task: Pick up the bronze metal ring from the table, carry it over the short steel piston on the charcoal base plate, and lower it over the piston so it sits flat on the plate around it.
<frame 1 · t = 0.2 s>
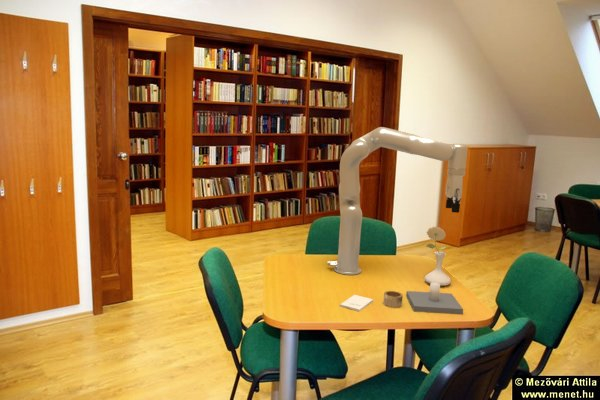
hand: (452, 210, 219), 31 cm above the table, tool pointing down, fingers open, 9 cm apart
piston stand: (433, 304, 189), on the table
bronze ring: (392, 304, 188), on the table
external hard drive: (356, 306, 186), on the table
flower in vase: (435, 283, 215), on the table
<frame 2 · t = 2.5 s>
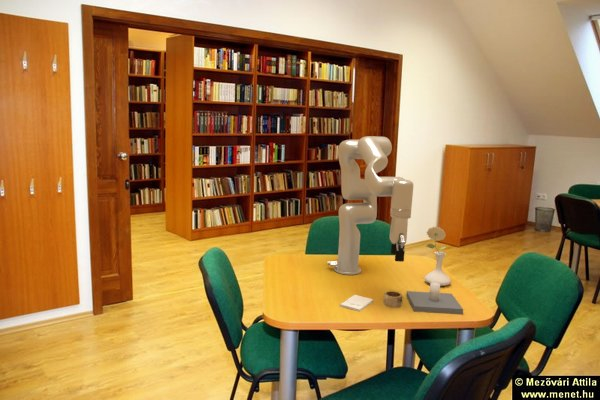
hand: (397, 257, 185), 19 cm above the table, tool pointing down, fingers open, 9 cm apart
nothing on the table moved.
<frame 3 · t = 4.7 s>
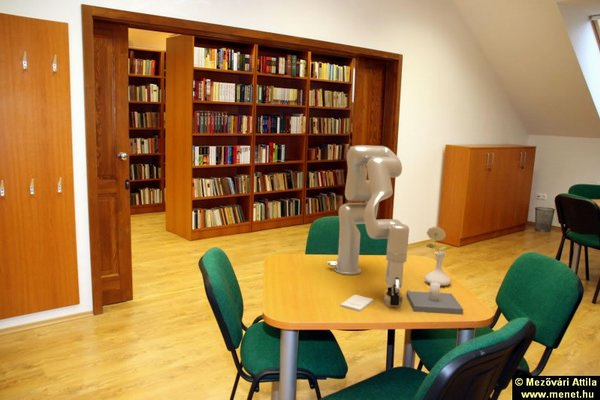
hand: (392, 300, 187), 1 cm above the table, tool pointing down, fingers closed on bronze ring, 6 cm apart
bronze ring: (392, 304, 188), on the table, touching gripper
everything else where it was.
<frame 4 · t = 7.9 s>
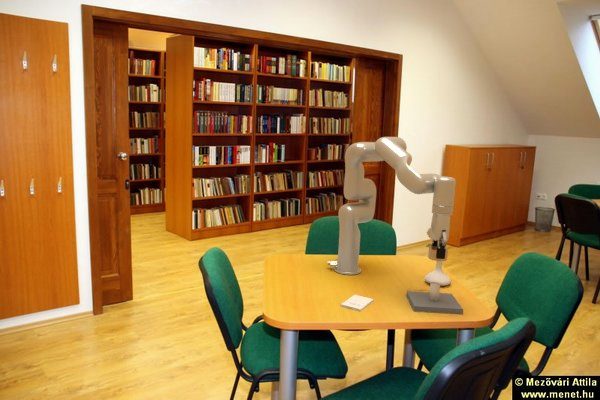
hand: (437, 255, 186), 20 cm above the table, tool pointing down, fingers closed on bronze ring, 6 cm apart
bronze ring: (437, 258, 186), point 18 cm above the table, touching gripper
everything else where it was.
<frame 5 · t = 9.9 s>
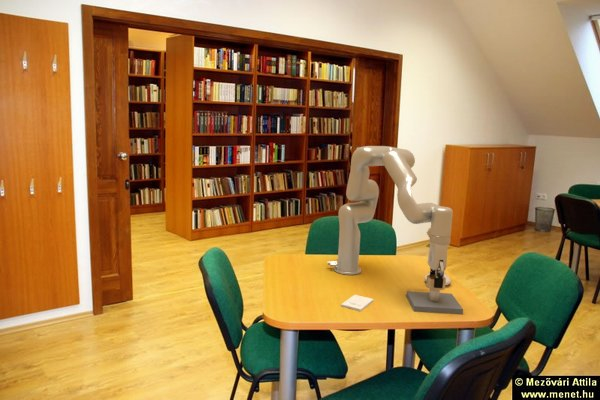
hand: (435, 284, 188), 8 cm above the table, tool pointing down, fingers closed on bronze ring, 6 cm apart
bronze ring: (435, 287, 188), point 7 cm above the table, touching gripper
everything else where it was.
when the fingers open (5 cm above the table, at t = 11.2 s): bronze ring drops 1 cm, resting on piston stand.
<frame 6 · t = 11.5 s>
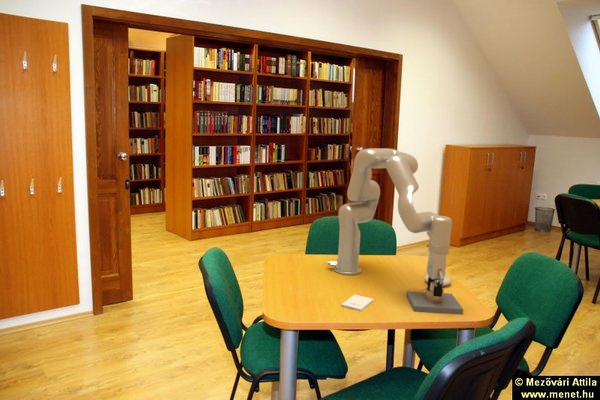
hand: (434, 291, 188), 5 cm above the table, tool pointing down, fingers open, 9 cm apart
bronze ring: (433, 299, 189), point 2 cm above the table, touching piston stand
everything else where it was.
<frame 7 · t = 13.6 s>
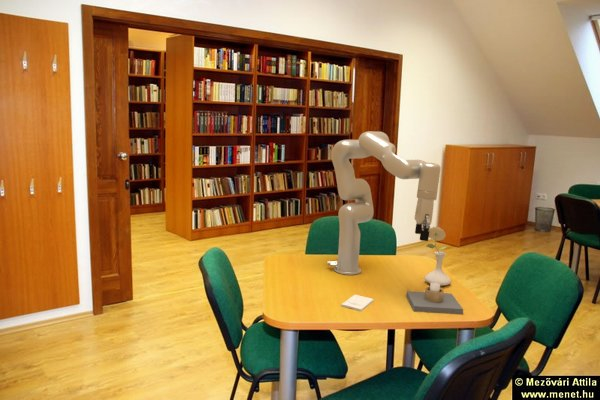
hand: (421, 237, 193), 24 cm above the table, tool pointing down, fingers open, 9 cm apart
nothing on the table moved.
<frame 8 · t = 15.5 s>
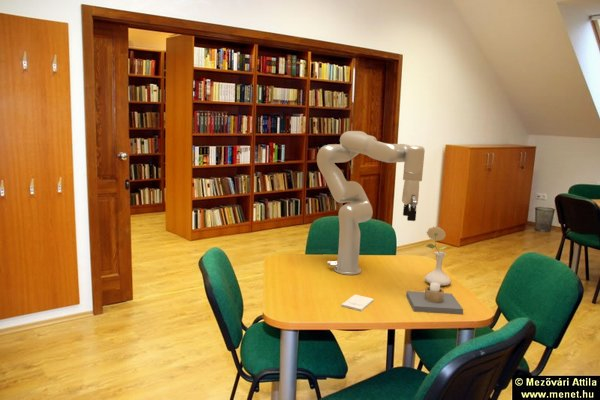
hand: (409, 218, 200), 30 cm above the table, tool pointing down, fingers open, 9 cm apart
nothing on the table moved.
at the end: bronze ring 0.0 cm off-centre on the piston stand, point 2.0 cm above the piston stand's base; bronze ring tilted 0°; the gripper is holding nothing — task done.
